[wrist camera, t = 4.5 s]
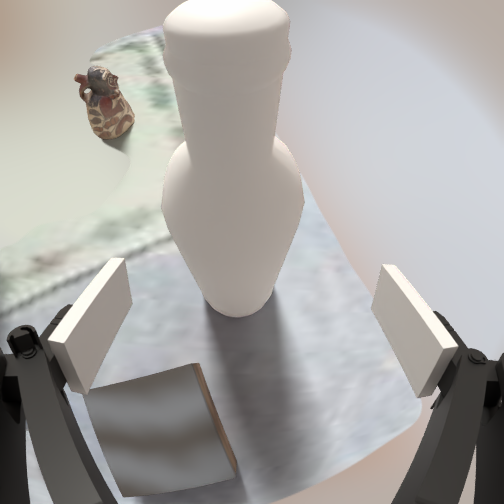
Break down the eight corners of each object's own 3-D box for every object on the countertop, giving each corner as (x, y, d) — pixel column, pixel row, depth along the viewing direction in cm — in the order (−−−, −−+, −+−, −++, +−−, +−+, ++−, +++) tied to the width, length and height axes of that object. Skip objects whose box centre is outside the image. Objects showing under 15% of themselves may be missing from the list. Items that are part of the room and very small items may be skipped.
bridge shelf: (103, 388, 30) (81, 391, 25) (199, 363, 31) (191, 363, 26) (139, 480, 26) (123, 497, 21) (236, 460, 28) (235, 477, 23)
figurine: (135, 132, 42) (113, 73, 31) (93, 145, 41) (64, 92, 30) (134, 103, 44) (116, 48, 33) (95, 116, 44) (71, 64, 32)
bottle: (283, 302, 34) (425, 70, 6) (217, 329, 33) (93, 146, 5) (255, 240, 37) (284, -32, 8) (192, 264, 35) (88, 8, 7)
